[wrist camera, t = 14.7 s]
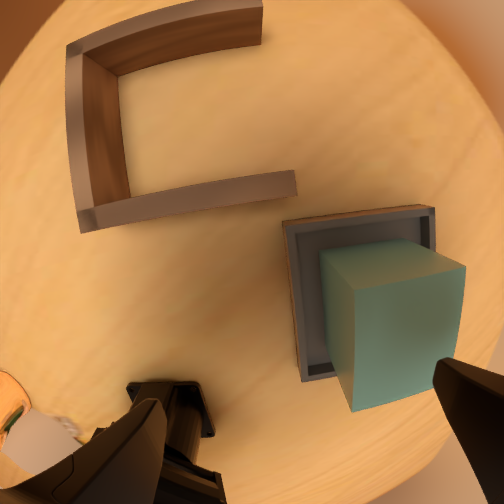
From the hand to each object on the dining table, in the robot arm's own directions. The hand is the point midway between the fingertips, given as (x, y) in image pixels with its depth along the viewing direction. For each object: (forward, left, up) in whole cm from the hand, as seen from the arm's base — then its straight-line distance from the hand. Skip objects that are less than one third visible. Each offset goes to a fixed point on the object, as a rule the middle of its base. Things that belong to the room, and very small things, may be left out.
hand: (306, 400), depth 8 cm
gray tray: (-2, -6, -12) cm, 13 cm away
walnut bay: (+11, +4, -12) cm, 17 cm away
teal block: (-2, -6, -11) cm, 13 cm away
